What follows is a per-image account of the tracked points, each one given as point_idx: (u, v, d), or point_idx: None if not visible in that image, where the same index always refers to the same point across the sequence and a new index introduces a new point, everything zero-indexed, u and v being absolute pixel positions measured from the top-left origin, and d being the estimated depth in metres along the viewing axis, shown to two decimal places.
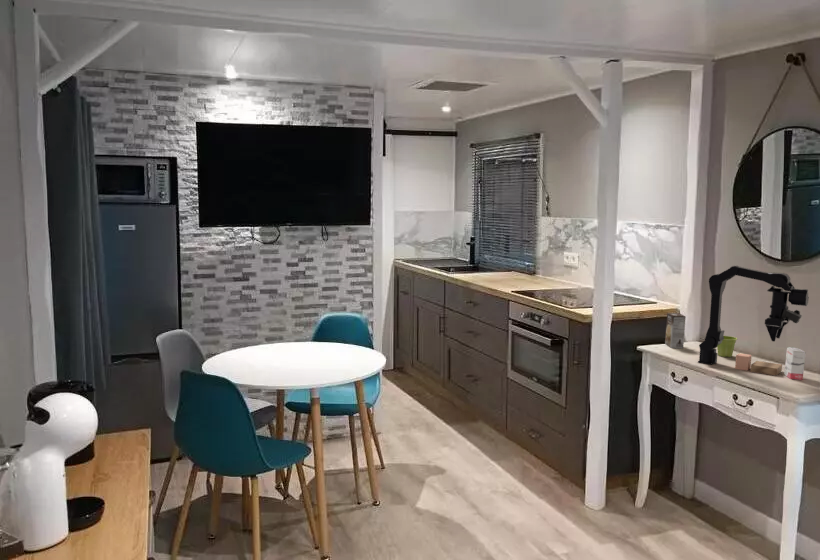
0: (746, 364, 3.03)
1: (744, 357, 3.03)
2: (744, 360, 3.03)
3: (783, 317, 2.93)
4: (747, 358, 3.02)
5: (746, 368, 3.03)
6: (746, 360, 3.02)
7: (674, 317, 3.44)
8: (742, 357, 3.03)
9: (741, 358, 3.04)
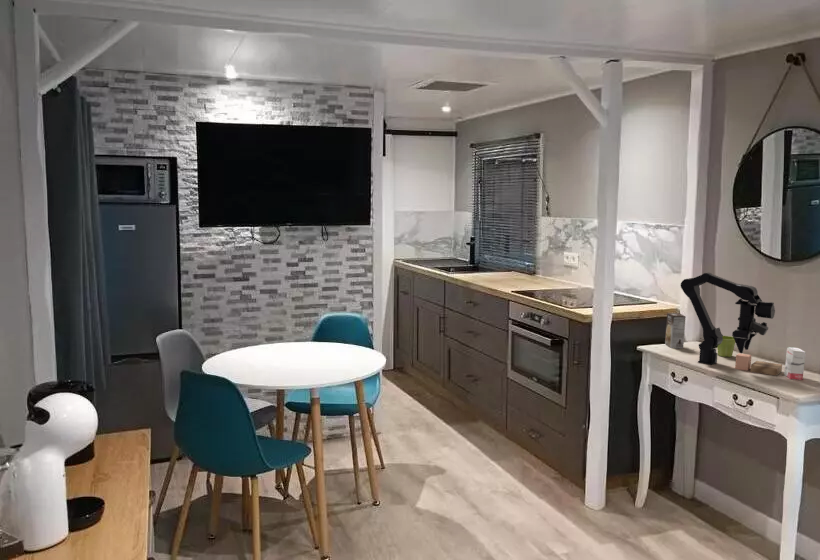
0: (746, 364, 3.03)
1: (744, 357, 3.03)
2: (744, 360, 3.03)
3: (750, 329, 3.00)
4: (747, 358, 3.02)
5: (746, 368, 3.03)
6: (746, 360, 3.02)
7: (674, 317, 3.44)
8: (742, 357, 3.03)
9: (741, 358, 3.04)
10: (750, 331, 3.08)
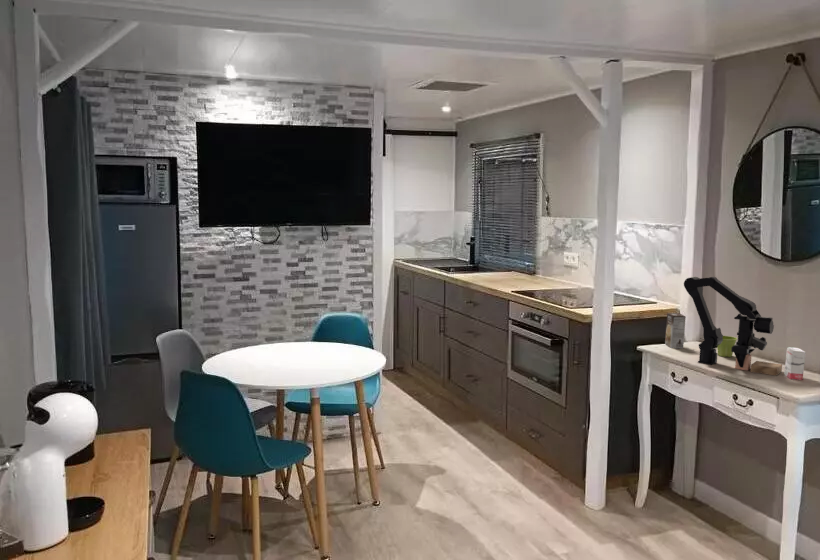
0: (746, 364, 3.03)
1: None
2: None
3: (749, 344, 3.01)
4: (747, 358, 3.02)
5: (746, 368, 3.03)
6: (746, 360, 3.02)
7: (674, 317, 3.44)
8: None
9: None
10: (748, 346, 3.07)
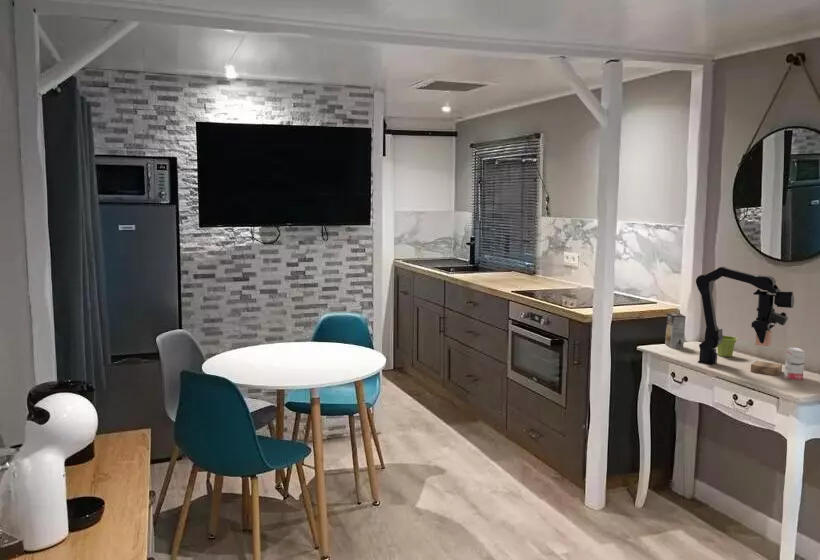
0: (767, 340, 2.97)
1: None
2: None
3: (770, 319, 2.96)
4: (768, 333, 2.97)
5: (767, 344, 2.98)
6: (767, 335, 2.97)
7: (674, 317, 3.44)
8: None
9: None
10: None
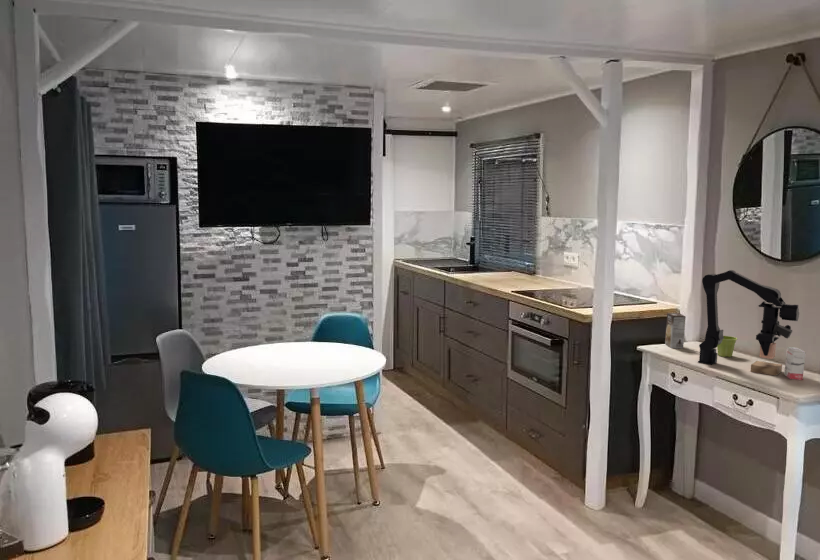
0: (771, 352, 2.97)
1: None
2: (769, 348, 2.97)
3: (774, 332, 2.95)
4: (772, 346, 2.97)
5: (771, 356, 2.97)
6: (771, 348, 2.97)
7: (674, 317, 3.44)
8: None
9: None
10: None
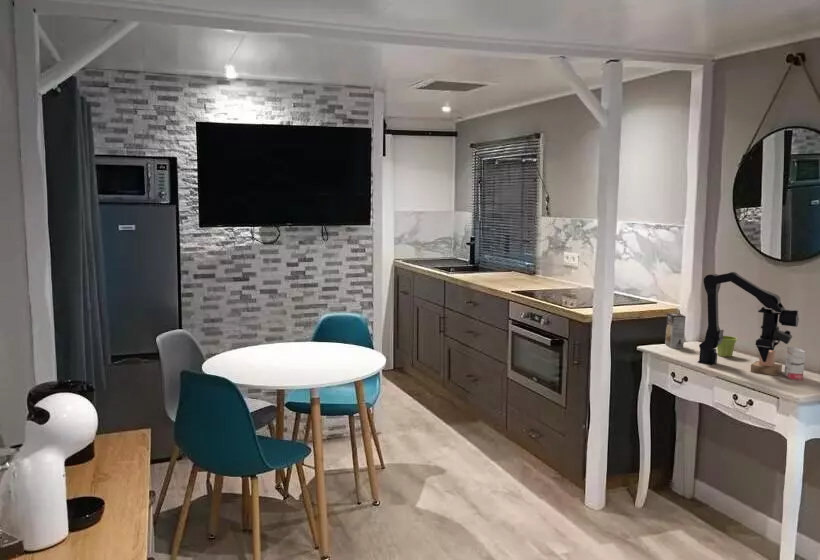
0: (770, 360, 2.97)
1: (768, 353, 2.98)
2: (768, 356, 2.98)
3: (774, 338, 2.96)
4: (771, 354, 2.97)
5: (770, 364, 2.98)
6: (770, 356, 2.97)
7: (674, 317, 3.44)
8: None
9: None
10: (773, 339, 3.03)
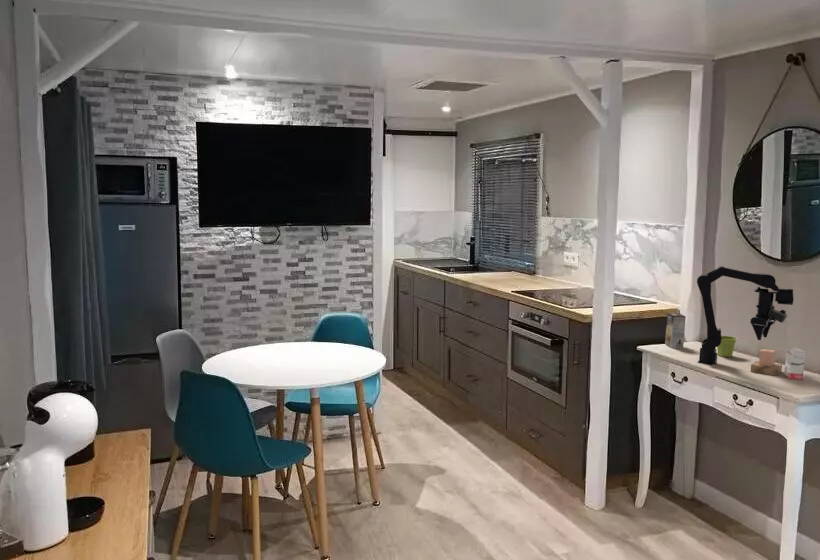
0: (770, 360, 2.97)
1: (768, 353, 2.98)
2: (768, 356, 2.98)
3: (769, 316, 3.02)
4: (771, 354, 2.97)
5: (770, 364, 2.98)
6: (770, 356, 2.97)
7: (674, 317, 3.44)
8: (766, 353, 2.98)
9: (765, 354, 2.98)
10: (769, 319, 3.09)
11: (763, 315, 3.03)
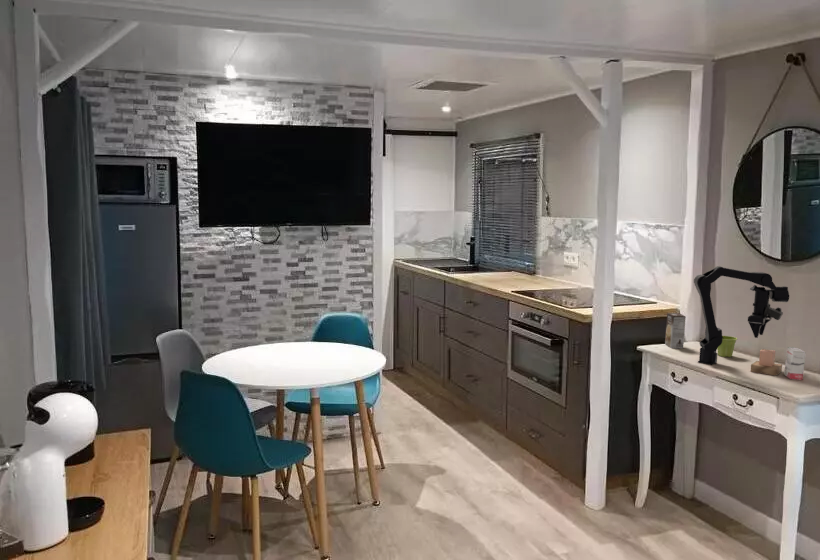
0: (770, 360, 2.97)
1: (768, 353, 2.98)
2: (768, 356, 2.98)
3: (765, 314, 3.06)
4: (771, 354, 2.97)
5: (770, 364, 2.98)
6: (770, 356, 2.97)
7: (674, 317, 3.44)
8: (766, 353, 2.98)
9: (765, 354, 2.98)
10: (765, 316, 3.14)
11: (760, 313, 3.08)
